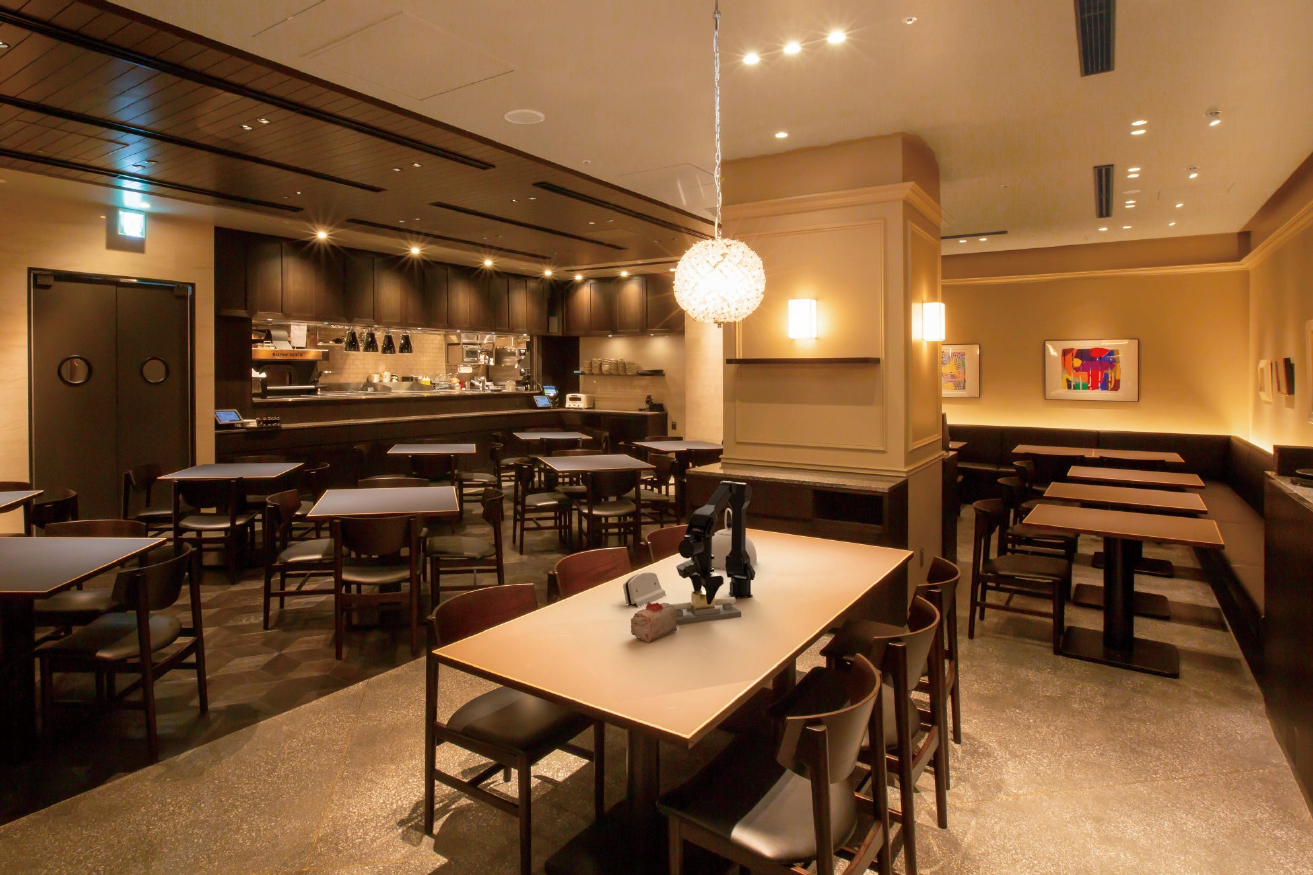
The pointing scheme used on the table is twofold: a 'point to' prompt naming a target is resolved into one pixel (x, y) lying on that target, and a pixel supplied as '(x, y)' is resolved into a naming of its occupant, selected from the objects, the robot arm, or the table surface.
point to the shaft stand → (706, 611)
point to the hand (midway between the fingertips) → (703, 600)
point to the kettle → (728, 546)
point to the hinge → (642, 589)
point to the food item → (654, 621)
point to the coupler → (700, 601)
